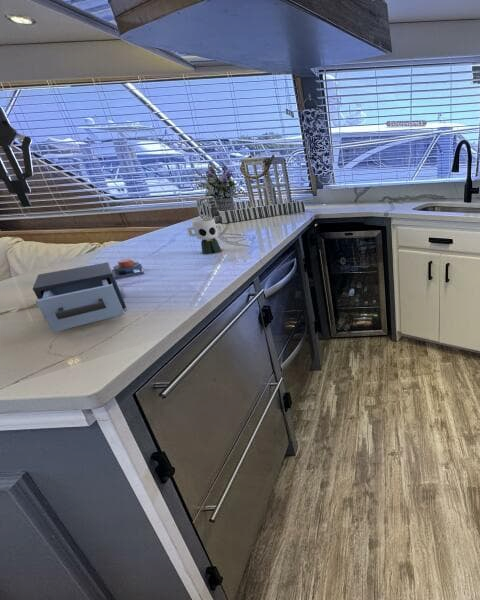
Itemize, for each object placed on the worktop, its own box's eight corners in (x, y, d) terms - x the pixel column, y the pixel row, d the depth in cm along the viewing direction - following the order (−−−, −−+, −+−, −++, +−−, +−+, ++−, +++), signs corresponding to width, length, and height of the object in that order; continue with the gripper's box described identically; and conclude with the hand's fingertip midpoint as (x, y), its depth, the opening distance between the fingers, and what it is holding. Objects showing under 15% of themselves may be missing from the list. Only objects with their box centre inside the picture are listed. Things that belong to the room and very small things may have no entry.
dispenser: (126, 307, 76) (111, 273, 73) (52, 326, 68) (32, 288, 65) (121, 293, 85) (108, 262, 82) (55, 308, 78) (38, 274, 74)
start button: (120, 268, 94) (118, 263, 94) (119, 266, 97) (117, 261, 96) (135, 266, 97) (133, 260, 96) (134, 263, 99) (132, 258, 98)
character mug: (197, 260, 113) (186, 223, 108) (195, 256, 119) (184, 221, 113) (231, 254, 119) (221, 219, 114) (227, 251, 125) (218, 217, 119)
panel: (93, 289, 89) (87, 276, 88) (92, 281, 96) (86, 268, 94) (147, 278, 97) (142, 265, 95) (142, 271, 103) (138, 259, 102)
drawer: (126, 320, 67) (114, 290, 64) (50, 341, 60) (33, 308, 57) (119, 299, 79) (108, 273, 76) (55, 314, 72) (40, 285, 69)
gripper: (-73, 98, 70) (-13, 210, 79) (16, 103, 78) (60, 204, 87) (-62, 103, 75) (-7, 208, 84) (19, 108, 83) (61, 202, 92)
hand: (27, 206), depth 85 cm, fingers closed
